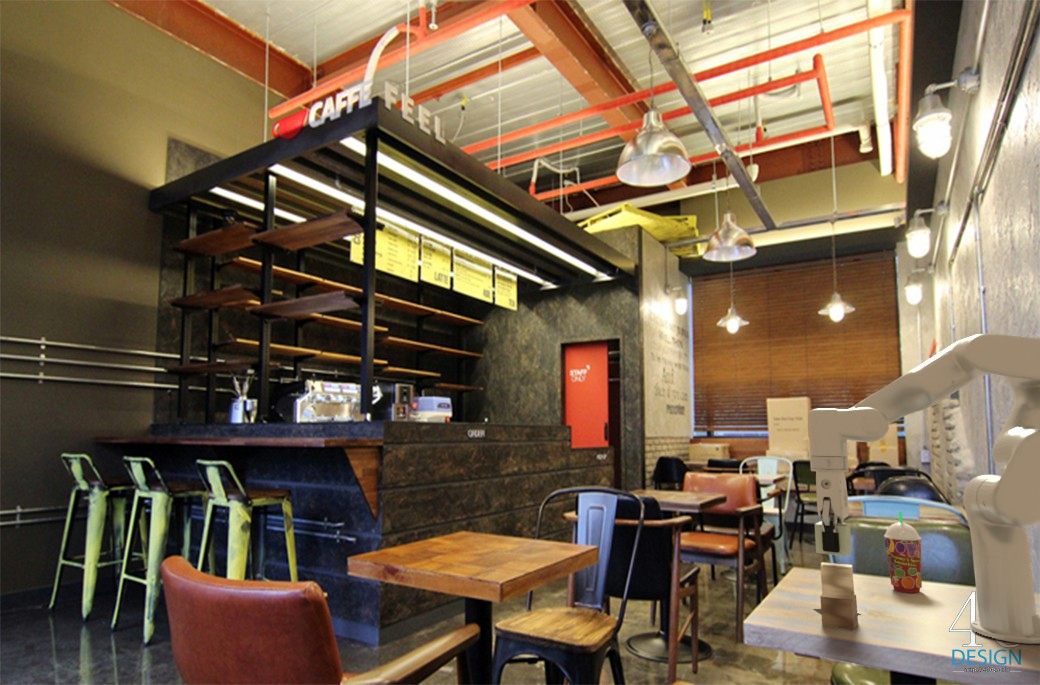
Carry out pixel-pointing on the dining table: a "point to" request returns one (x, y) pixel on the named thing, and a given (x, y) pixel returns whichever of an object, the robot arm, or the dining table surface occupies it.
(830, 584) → the tower top
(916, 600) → the dining table surface
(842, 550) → the sage block
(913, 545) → the smoothie
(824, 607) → the tower base
